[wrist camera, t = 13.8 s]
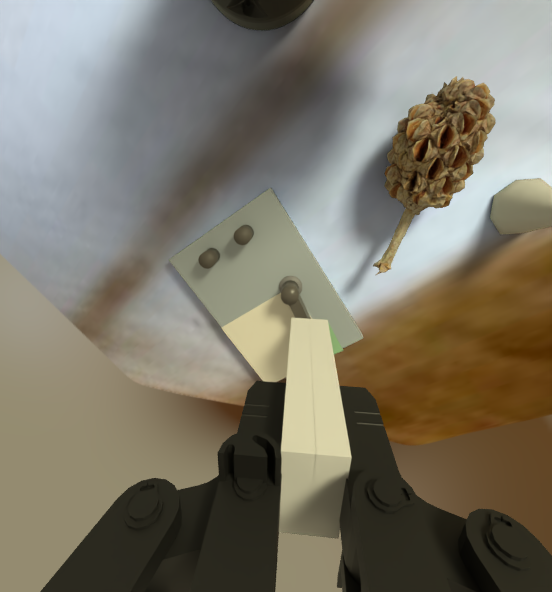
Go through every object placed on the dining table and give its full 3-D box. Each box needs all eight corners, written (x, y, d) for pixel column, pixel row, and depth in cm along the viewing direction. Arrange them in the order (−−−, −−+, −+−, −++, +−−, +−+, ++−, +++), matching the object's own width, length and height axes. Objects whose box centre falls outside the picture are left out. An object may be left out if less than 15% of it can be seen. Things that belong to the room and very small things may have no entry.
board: (174, 256, 46) (159, 265, 41) (271, 187, 41) (267, 189, 37) (269, 379, 53) (266, 398, 48) (361, 332, 48) (368, 349, 44)
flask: (493, 242, 42) (547, 261, 32) (484, 191, 39) (540, 196, 30) (551, 222, 40) (626, 236, 31) (545, 168, 38) (624, 165, 28)
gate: (279, 284, 44) (274, 306, 36) (294, 277, 43) (293, 298, 36) (318, 363, 48) (321, 397, 41) (332, 358, 47) (338, 392, 40)
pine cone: (399, 84, 36) (433, 52, 27) (478, 100, 36) (539, 74, 27) (347, 260, 44) (359, 282, 35) (411, 273, 44) (440, 299, 35)
